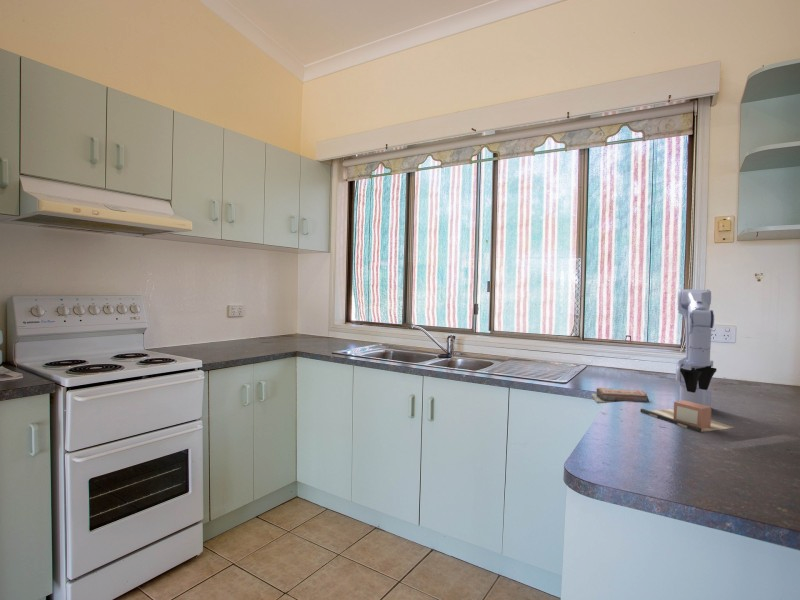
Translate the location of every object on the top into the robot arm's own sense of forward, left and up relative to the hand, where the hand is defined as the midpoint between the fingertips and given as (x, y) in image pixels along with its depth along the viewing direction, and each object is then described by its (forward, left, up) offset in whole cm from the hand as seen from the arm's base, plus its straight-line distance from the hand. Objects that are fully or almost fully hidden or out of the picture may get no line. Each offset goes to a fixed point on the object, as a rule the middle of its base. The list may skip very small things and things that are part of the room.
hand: (697, 390), depth 138 cm
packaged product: (+4, -27, -11) cm, 29 cm away
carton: (+7, +4, -9) cm, 12 cm away
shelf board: (+4, 0, -10) cm, 11 cm away
